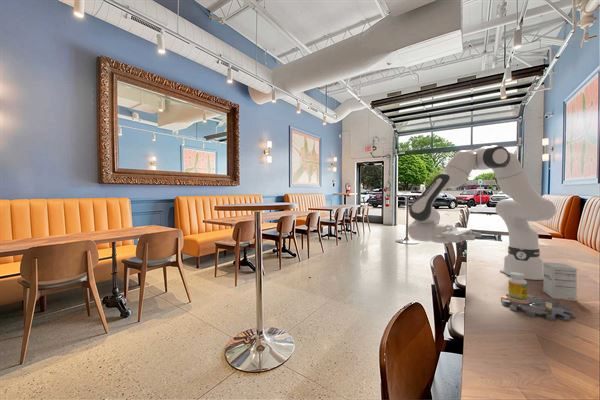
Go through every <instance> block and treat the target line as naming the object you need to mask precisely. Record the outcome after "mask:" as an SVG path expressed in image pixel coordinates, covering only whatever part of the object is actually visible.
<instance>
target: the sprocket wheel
mask: <svg viewBox="0 0 600 400" xmlns="http://www.w3.org/2000/svg"><path fill="white" fill-rule="evenodd" d="M500 302H501V304H502V305H503V306H504V307H509V310H510V311H514V312H516V313H518V312H522V313H525V315H526V316H528V317H532V318H536V317H542V318H544V319H545V320H546V321H547V320H548V321H554V322H555V321H556V319H559V320H562V321H570V319H574V311H572V309H571V307H569V306H568V305H564V304H560V302H559V301H556V300H552V299H549V300H546V299H543V297H541V296H537V295H534V296H528V295H527V301H526V302H520V301H515V300H512V299H510V298H509V293H506V294H505V295H501V296H500Z"/></svg>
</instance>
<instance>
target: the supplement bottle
mask: <svg viewBox="0 0 600 400" xmlns="http://www.w3.org/2000/svg"><path fill="white" fill-rule="evenodd" d="M524 278H525V275H524V274H522V273H517V272H511V276H510V278H508V283H507V284H508V294H509V298H510V299H512V300H515V301H520V302H526V301H527V296H528V282H527V279H524Z"/></svg>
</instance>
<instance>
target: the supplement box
mask: <svg viewBox="0 0 600 400" xmlns="http://www.w3.org/2000/svg"><path fill="white" fill-rule="evenodd" d="M577 272H578V270H577V268H576V267H574V266H571V265H568V264H567V263H561V262H560V263H559V262H544V261H543V285H542V286H543V293H545V294H546V295H548V296H549V297H550V298H552V299H557V300H566V301H573V302H574V301H576V302H577V297H578V296H577V293H578V292H577V291H578V290H577V286H578V285H577V281H578V280H577Z"/></svg>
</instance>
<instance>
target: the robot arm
mask: <svg viewBox="0 0 600 400" xmlns="http://www.w3.org/2000/svg"><path fill="white" fill-rule="evenodd" d="M490 169H491V170H492V171H493V173H494V178H495V179H496V181H497V184H498V187H499V189H500V191H501V193H503V194H504V195H506V196H508V197H510V198H505V199H501V200H500V199H499V201H498V202H497V203H496V204H495V212H496V214H497V215H498V216H499V217H500V218H501V219H502V221H503V222H504V224H505V225H506V228H507V231H508V232H507V233H508V246H507V253H508V254H507V255H505V256H504V261H503V268H500V270H499V272H500V273H503V274H506V275H507V276H510V277H511V272H517V273H522V274H524V275H525V278H524V280H537V281H539V280H541V281H542V280H543V262H544V261H543V260H542V259H541V258H540V257H541V251H540V248H539V233H538V232H537V230H535V229H534V228H532V227H531V225H530V224H529V221H531V222H543V221H549V220H551V219H553V218H554V217H555V214H556V211H557V209H556V206H555V203H554V202H553V201H551V200H550V199H548V198H545V197H543V195H541V194H539V193H538V192H537V191H536V190H535V189H534V188H533V186H532V185H531V184H530V182H529V179H528V178H527V176H526V173H525V171H524V168H523V166H522V164H521V162H520V160H519V159H518V157H517V156H516V155H515V153H513V152H509V150H508V149H506V147H504V146H501V145H491V146H490V145H489V146H482V147H480V148H476V149H472V150H459V151H458V152H456V153H455V154H454V155H453V156H452V157H451V159H449V161H448V163H447V164H446V166H445V167H444V168H443V170H442V171H441V172H440V173H439V174H437V176H435V177H434V179H432V180H431V182H430V183H429V184H428V185H427V186H426V188H425V190H424V191H423V192H422V193H421V195H420V196H419V197H418V198H417V199H414V201H413V202H411V204H410V205H409V209H408V213H409V214H408V215H409V216H410V217H411V218H412V219H414V221H412V222H411V224H410V223H409V224H408V228H407V233H408V235H409V237H410V238H411V239H413V240H414V241H419V242H433V243H437V244H449V243H457V244H458V243H460V242H463V241H475V240H476V238H482V233H481V232H476V231H473V230H472V228H467V227H460V226H459V227H458V226H453V225H450V224H449V225H448V224H440V221H441V215H440V212H439V211H438V210H437V209H436V208H435V207H433V203H434V202H435V201H436V199H437V198H438V197H439V196H440V194H441V193H442V191H444V190H446V189H457V188H459V187H461V186H462V185H463V184H464V183H465V182H466V181H467V179H468V178H469V176H470V175H471V173H472V171H473V170H476V171H477V170H483V171H484V170H490Z"/></svg>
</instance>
